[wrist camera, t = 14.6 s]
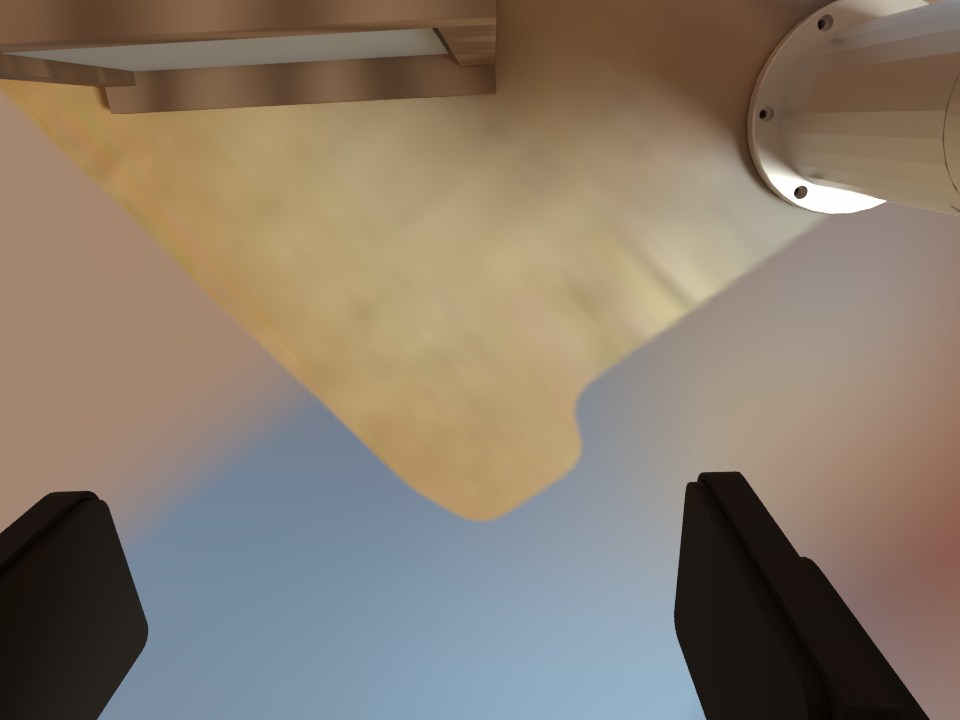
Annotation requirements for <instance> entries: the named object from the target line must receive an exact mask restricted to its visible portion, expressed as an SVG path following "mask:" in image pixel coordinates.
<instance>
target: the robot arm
mask: <svg viewBox="0 0 960 720" xmlns="http://www.w3.org/2000/svg"><path fill="white" fill-rule="evenodd" d="M818 21H820V22H821V24H822V26H821V28H820V29H819V28H818ZM761 110H763V111H764V117H763V118H761V119H760V116H759V114H760V111H761ZM747 130H748V143H749V148H750V152H751V157H752V160H753V162H754V164H755V167H756V169H757V171H758V173H759V175H760V176H761V178H762V179H763V180H764V182H765V183H766V184H767V186H768V187H769V188H770V189H771V190H772V191H773V192H774V193H775V194H777V195H778V196H779V197H780V198H781V199H783V200H784V201H786V202H788V203H790V204H792V205H794V206H796V207H798V208H802V209H805V210H808V211H811V212H816V213H823V214H830V215H832V214H850V213H854V212H859V211H863V210H868V209H870V208H872V207H875V206H878V205H880V204H882V203H884V202H887V201H889V202H894V203H898V204H903V205H908V206H913V207H918V208H923V209H927V210H932V211H937V212H942V213H947V214H952V215H956V216H960V0H944V1H940V2H936V3H933V4H930V3H929V2H927V1H925V0H836V1H834V2H832V3H830V4H828V5H826V6H824V7H822V8H820V9H818V10H816V11H815V12H813V13H812V14H810V15H809V16H808V17H806V18H805V19H803V20H802V21H801V22H799V23H798V24H797V25H796V26H795V27H794V28H793V29H792V30H791V31H790V32H789V33H788V34H787V35H786V36H785V37H784V38H783V39H782V40H781V41H780V43H779V44H778V45H777V47H776V48H775V49H774V51H773V52H772V53H771V55H770V56H769V57H768V59H767V61H766V63H765V65H764V67H763V69H762V71H761V72H760V74H759V76H758V78H757V81H756V84H755V87H754V90H753V93H752V96H751V99H750V105H749V112H748V118H747ZM796 188H798V191H797V193H796V194H794V191H795V189H796ZM674 623H675V630H676V634H677V638H678V641H679V644H680V647H681V650H682V652H683V655H684V658H685V661H686V663H687V666H688V669H689V672H690V675H691V678H692V680H693V683H694V686H695V689H696V692H697V694H698V697H699V700H700V703H701V706H702V708H703V711H704V714H705V717H706V719H707V720H930V719H929V718H928V717H927V715H926V714H925V712H924V711H923V710H922V708H921V707H920V705H919V704H918V703H917V701H916V700H915V699H914V697H913V696H912V695H911V693H910V692H909V690H908V689H907V688H906V686H905V685H904V684H903V682H902V681H901V680H900V678H899V677H898V675H897V674H896V673H895V671H894V670H893V668H892V667H891V666H890V664H889V663H888V662H887V660H886V659H885V657H884V656H883V655H882V653H881V652H880V651H879V649H878V648H877V646H876V645H875V644H874V642H873V641H872V640H871V638H870V637H869V635H868V634H867V633H866V631H865V630H864V629H863V627H862V626H861V624H860V623H859V622H858V620H857V619H856V618H855V616H854V615H853V614H852V612H851V611H850V609H849V608H848V607H847V605H846V604H845V603H844V601H843V600H842V598H841V597H840V596H839V594H838V593H837V591H836V590H835V589H834V587H833V586H832V585H831V584H830V582H829V581H828V579H827V578H826V577H825V575H824V574H823V572H822V571H821V570H820V568H819V567H818V566H817V565H816V564H815V563H814V562H813V561H812V560H811V559H809V558H807V557H800V556H799V555H798V553H797V552H796V550H795V549H794V548H793V546H792V545H791V543H790V542H789V540H788V539H787V538H786V536H785V535H784V533H783V532H782V530H781V529H780V528H779V526H778V525H777V523H776V522H775V521H774V519H773V518H772V516H771V515H770V514H769V512H768V511H767V509H766V508H765V506H764V505H763V503H762V502H761V501H760V499H759V498H758V496H757V495H756V493H755V492H754V491H753V489H752V488H751V487H750V485H749V483H748V482H747V481H746V479H745V478H744V477H743V475H742V474H741V473H740V472H704V473H701V474H700V475H699V477H698V480H697V482H689V483H688V484H687V487H686V493H685V503H684V514H683V525H682V535H681V546H680V557H679V567H678V577H677V588H676V599H675V610H674ZM147 637H148V624H147V621H146V618H145V615H144V612H143V609H142V606H141V603H140V600H139V597H138V594H137V591H136V588H135V585H134V582H133V579H132V576H131V573H130V570H129V567H128V564H127V561H126V558H125V555H124V552H123V549H122V546H121V543H120V540H119V537H118V534H117V532H116V528H115V525H114V522H113V519H112V516H111V513H110V510H109V507H108V505H107V504H106V503H105V502H104V501H103V500H99V498H98V496H97V495H96V494H94V493H93V492H90V491H71V492H54V493H49V494H48V495H46V496H45V497H43V498H42V499H41V500H40V501H39V502H37V503H36V504H35V505H34V506H33V507H31V508H30V509H29V510H28V511H27V512H26V513H24V514H23V515H22V516H21V517H20V518H18V519H17V520H16V521H15V522H13V523H12V524H11V525H10V526H9V527H8V528H6V529H5V530H4V531H3V532H2V533H0V720H97V719H98V717H99V715H100V714H101V712H102V711H103V709H104V708H105V706H106V705H107V703H108V702H109V700H110V699H111V697H112V696H113V694H114V693H115V691H116V690H117V688H118V687H119V685H120V684H121V682H122V681H123V679H124V678H125V676H126V675H127V673H128V672H129V670H130V669H131V667H132V665H133V664H134V662H135V661H136V659H137V658H138V656H139V655H140V653H141V652H142V650H143V648H144V647H145V644H146V641H147Z"/></svg>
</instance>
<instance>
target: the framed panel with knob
mask: <svg viewBox="0 0 960 720" xmlns="http://www.w3.org/2000/svg"><path fill="white" fill-rule="evenodd" d="M496 23H497V6H496V0H0V79H10V80H22V81H34V82H46V83H58V84H70V85H82V86H94V87H105V91H106V95H107V99H108V102H109V106H110V110H111V114H130V113H149V112H167V111H186V110H204V109H223V108H242V107H260V106H279V105H297V104H316V103H334V102H353V101H372V100H390V99H409V98H427V97H446V96H464V95H483V94H496V83H495V49H496ZM423 28H438V29H439V31H440V32H441V34H442V36H443V37H444V39H445V41H446V42H447V44H448V48H449V54H436V55H418V56H400V57H382V58H365V59H347V60H329V61H312V62H294V63H276V64H258V65H241V66H223V67H205V68H188V69H170V70H152V71H128V70H121V69H113V68H106V67H98V66H91V65H84V64H76V63H69V62H61V61H54V60H47V59H39V58H32V57H24V56H17V55H9V54H2V53H10V52H28V51H45V50H62V49H79V48H97V47H114V46H131V45H148V44H165V43H183V42H200V41H217V40H234V39H251V38H269V37H286V36H303V35H320V34H337V33H355V32H372V31H389V30H406V29H423Z"/></svg>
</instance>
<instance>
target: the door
mask: <svg viewBox="0 0 960 720" xmlns="http://www.w3.org/2000/svg"><path fill="white" fill-rule="evenodd" d="M2 54H9V55H17V56H24V57H32V58H39V59H47V60H54V61H61V62H69V63H76V64H84V65H91V66H98V67H106V68H113V69H121V70H128V71H152V70H170V69H188V68H205V67H223V66H241V65H258V64H276V63H294V62H312V61H329V60H347V59H365V58H382V57H400V56H418V55H436V54H449V48H448V44H447V42H446V41H445V39H444V37H443V36H442V34H441V32H440V31H439V29H438V28H423V29H406V30H389V31H372V32H355V33H337V34H320V35H303V36H286V37H269V38H251V39H234V40H217V41H200V42H183V43H165V44H148V45H131V46H114V47H97V48H79V49H62V50H45V51H28V52H10V53H2Z"/></svg>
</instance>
